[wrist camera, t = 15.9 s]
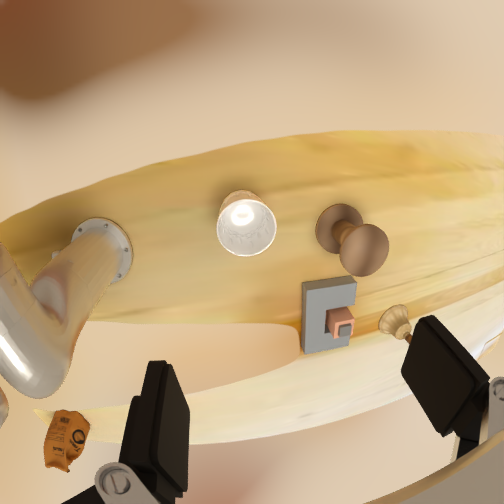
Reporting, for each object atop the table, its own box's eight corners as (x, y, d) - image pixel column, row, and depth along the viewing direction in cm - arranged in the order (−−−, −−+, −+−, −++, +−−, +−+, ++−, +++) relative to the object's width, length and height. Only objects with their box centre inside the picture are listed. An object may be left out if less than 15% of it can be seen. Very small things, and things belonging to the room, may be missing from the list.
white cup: (215, 187, 44) (214, 201, 35) (264, 184, 45) (276, 197, 36) (219, 234, 47) (219, 258, 38) (266, 230, 48) (276, 254, 39)
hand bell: (395, 299, 57) (433, 341, 43) (412, 312, 60) (448, 352, 45) (372, 326, 60) (403, 372, 45) (390, 337, 62) (421, 380, 47)
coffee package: (94, 427, 68) (81, 480, 48) (68, 424, 68) (53, 473, 47) (78, 409, 64) (60, 465, 44) (52, 407, 64) (33, 457, 43)
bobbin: (315, 254, 51) (337, 283, 41) (315, 205, 47) (340, 225, 37) (359, 248, 51) (388, 275, 41) (362, 202, 48) (394, 220, 38)
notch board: (302, 282, 53) (306, 290, 50) (350, 275, 53) (356, 282, 51) (301, 345, 59) (304, 354, 56) (343, 337, 60) (348, 345, 57)
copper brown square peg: (325, 305, 55) (336, 325, 49) (343, 302, 56) (356, 321, 49) (324, 320, 57) (334, 341, 51) (341, 317, 57) (353, 337, 51)
